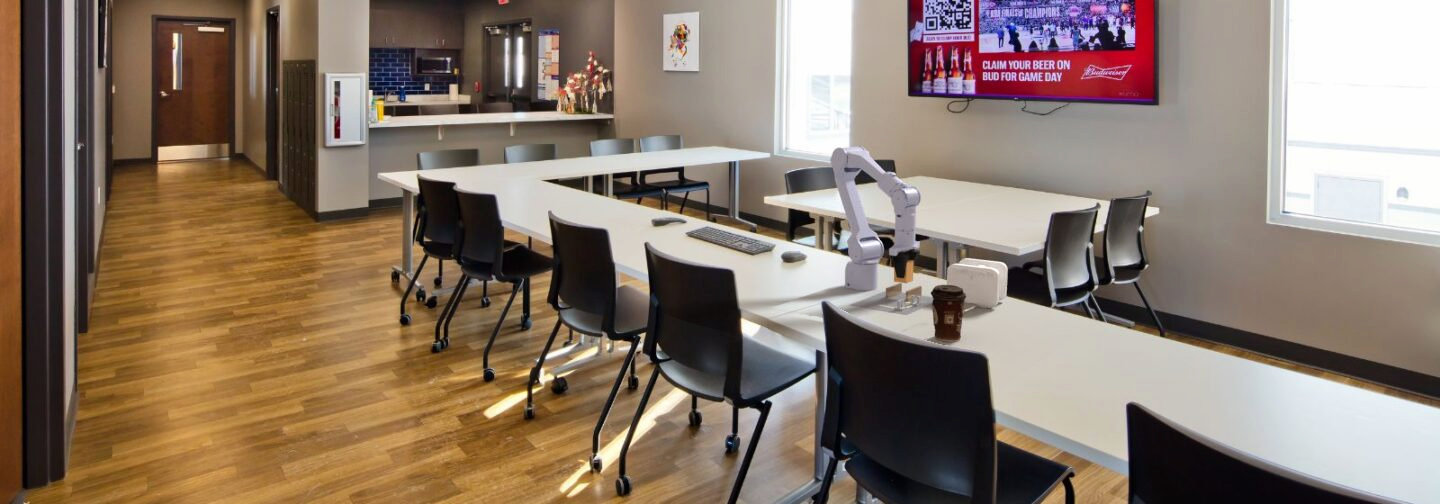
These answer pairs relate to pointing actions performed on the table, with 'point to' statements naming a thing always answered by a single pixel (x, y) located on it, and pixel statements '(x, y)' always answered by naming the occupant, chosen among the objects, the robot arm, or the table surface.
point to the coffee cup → (948, 312)
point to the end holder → (897, 290)
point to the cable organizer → (980, 281)
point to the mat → (894, 303)
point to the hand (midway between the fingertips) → (904, 276)
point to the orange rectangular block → (906, 273)
